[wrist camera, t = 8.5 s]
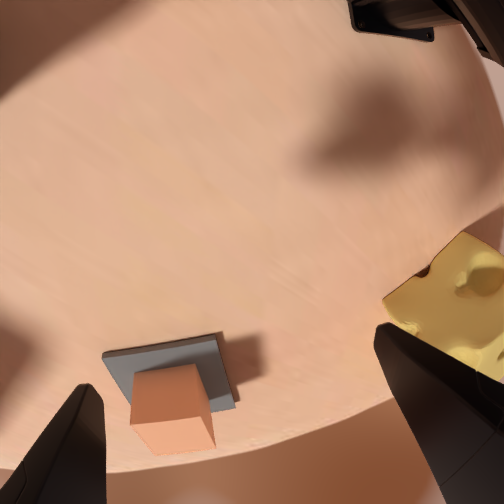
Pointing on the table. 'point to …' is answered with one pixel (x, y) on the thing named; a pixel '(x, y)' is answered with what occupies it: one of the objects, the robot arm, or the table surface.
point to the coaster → (175, 355)
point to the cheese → (457, 305)
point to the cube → (172, 411)
